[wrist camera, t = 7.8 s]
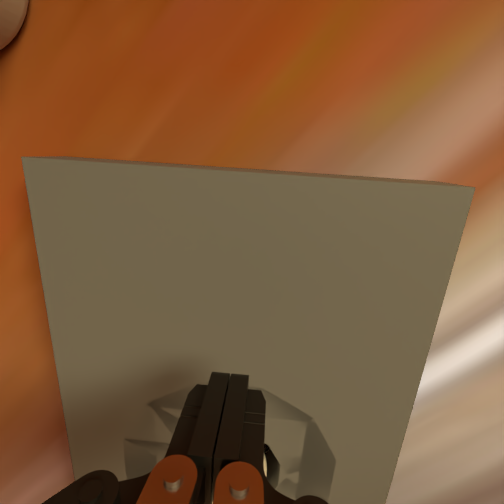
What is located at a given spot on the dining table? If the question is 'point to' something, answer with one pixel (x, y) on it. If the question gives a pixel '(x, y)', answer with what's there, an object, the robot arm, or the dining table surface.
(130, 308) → the grey flat block
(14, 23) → the coffee cup
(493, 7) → the dining table surface
